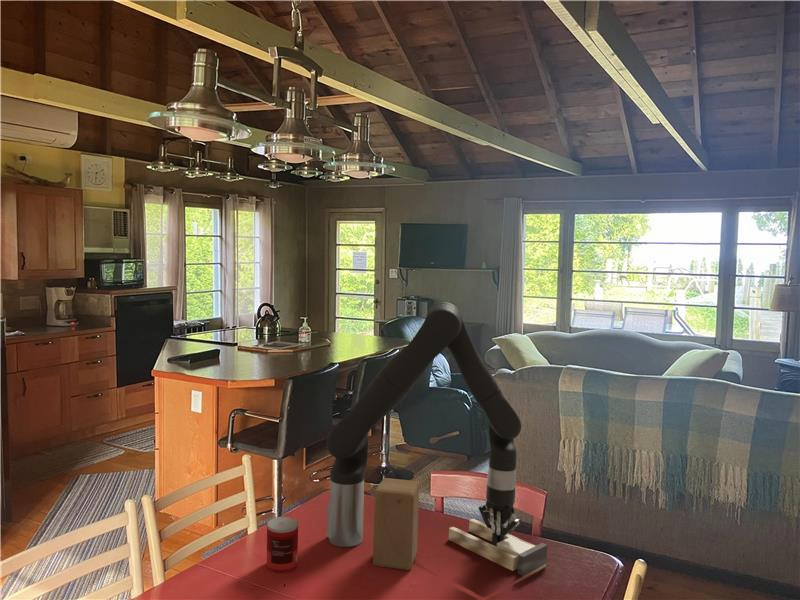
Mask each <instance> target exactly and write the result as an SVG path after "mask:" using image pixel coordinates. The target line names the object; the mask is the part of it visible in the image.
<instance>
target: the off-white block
mask: <svg viewBox="0 0 800 600" xmlns="http://www.w3.org/2000/svg"><path fill="white" fill-rule="evenodd" d="M497 547H498V548H501V549H503V550H505V551H507V552H509V553H511V554H514V555H516V556H517V569H518V554H520V553H523V552H525V551H527V550H529V549H531V548H533V547H534V546H531V545H529V544H527V543H525V542H522V541H520V540H518V539H515V538H513V537H509V538H507V539H505V540H503V541H501V542H498V543H497Z"/></svg>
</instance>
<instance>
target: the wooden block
mask: <svg viewBox="0 0 800 600" xmlns="http://www.w3.org/2000/svg"><path fill="white" fill-rule="evenodd" d="M419 502H420V483H419V482H418V481H417V480H410V479H399V478H389V477H384V478H382V480H381V481H380V483H379V484H378V486H377V487H376V489H375V492H374V508H373V509H374V511H373V540H372V541H373V543H372V544H373V545H372V546H373V547H372V563H373V565H374V566H376V567H382V568H383V567H384V568H391V569H397V570H407V571H409V570H411V569H412V566H413V564H414V561H415V559H416V555H417V553H418V536H419V535H418V534H419V533H418V531H419Z"/></svg>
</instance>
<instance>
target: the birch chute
mask: <svg viewBox="0 0 800 600" xmlns="http://www.w3.org/2000/svg"><path fill="white" fill-rule="evenodd" d="M468 532H469V533H468ZM468 532H466V531H465V530H461V529H460V528H457V527H455V526H451V527H449V528H448V541H450V542H453V543H454V544H457V545H459V546H460V547H463V548H465V550H466V549H467V550H468V551H471V552H473V553H475V554H477V555H479V556H481V557H483V558H484V559H487V560H489V561H491V562H493V563H495V564H497V565H499V566H502V567H503V568H506V569H507V570H510V571H512V572H514V571H516V570H517V574H518V575H520V579H525V578H527V577H528V576H530V575H533V574H534V573H536V572H538V571H540V570H542V569H543V568H545V567H546V566H547V559H548V556H547V554H548V544H546V543H544V542H540V543H539V544H537V545H535V544H533V543H531V542H528V541H526V540H523V539H521V538H518V537H516V536H514V535H512V534H511V533H509V534H507V535H505V536H504V540H505V539H507V538H509V537H513V538H515V539H518V540H520V541H522V542H525V543H527V544H529V545H531V546H534V547H533V548H531V549H529V550H527V551H525V552H523V553H520V554H518V568H517V556H516V555H514V554H511V553H509V552H507V551H505V550H503V549H501V548H498V547H496V546H494V545H493V544H492V531H491V529H490V528H487V526H486V524H485V522H482V521H479V520H477V519H475V518H470V519H469V520H468ZM470 533H472V534H470ZM473 534H474V535H476V536H474V535H473ZM477 536H478V537H477ZM479 537H481V538H483V539H481V538H479ZM484 539H485V540H487V541H489V542H487V541H485V540H484ZM490 542H491V543H490Z"/></svg>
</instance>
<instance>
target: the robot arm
mask: <svg viewBox="0 0 800 600" xmlns="http://www.w3.org/2000/svg"><path fill="white" fill-rule="evenodd" d="M446 348H448V350H449V352H450V353H451V355H452V357H453V359H454V361H455V363H456V366H457V367H458V370H459V372H460V374H461V377H462V379H463V381H464V383H465V385H466V387H467V389H468V391H469V392H470V393H471V395H472V397H473V399H474V400H475V402H476V403H477V405H478V406H479V407H480V408H481V409H482V411H483V412H484V414H485V415H486V417H487V419H488V439H489V459H488V470H487V475H486V476H487V477H486V491H485V492H486V494H485V495H486V496H485V498H486V501H485V504H483V505H481V506H478V510H479V514H480V515H481V518H482V520H483V523H485V524H486V526H487V528H490V529H491V531H492V542H491V544H492V545H494V546H496V547H497V543H498V542H501V541H503V540H504V536H505V535H507V534H511V533H512V532H513V531H514V530H516V528H517V527H518V526H519V525H520V524H521V523H522V520H521V518H517V516H516V515H515V508H514V505H515V501H516V489H517V486H516V485H517V449H516V446H515V444H514V439H515V438H517V437H518V436H519V435H520V433H521V430H522V422H521V419H520V416H519V415H518V414H517V412H516V411H515V409H514V408H513V407H512V405H511V404H510V403H509V401H508V400H507V399H506V397H505V396H504V394H503V392H502V390H501V387H500V386H499V385H498V383H497V381H496V380H495V378H494V377H493V375H492V373H491V371H490V370H489V368H488V367H487V365H486V364H485V362H484V360H483V359H482V356H480V354H479V352H478V351H477V349H476V347H475V345H474V343H473V341H472V339H471V337H470V335H469V332H468V331H467V328H466V326H465V322H464V321H463V318H462V315H461V312H460V310H459V309H458V307H456V305H454V304H452V303H450V302H448V301H439V302H436V303H434V304H433V305H431V306H430V308H429V309H428V311H427V313H426V315H425V319H424V321H423V323H422V325H421V326H420V327H419V330H418V331H417V332H416V333H415V335H414V337H413V338H412V339H411V341H410V342H409V343H408V344H407V345H406V346H405V347H404V348H403V349H401V351H399V352H398V353H396V355H394V356H393V357H392V358H390V360H389V361H388V362H386V364H385V365H384V366H383V367H382V368H381V369H380V371H379V372H378V373H377V374H376V376H375V377H374V378H373V380H372V381H371V382H370V384H369V385H368V386H367V387H366V388H365V391H364V392H363V393H362V394H361V396H360V398H359V399H358V400H357V401H356V403H355V404H354V406H353V407H352V408H351V410H349V411H348V413H347V414H346V415H344V417H343V418H341V420H340V421H338V423H336V424H335V425H334V426H333V427H332V428H331V429H330V431H329V432H328V433H327V437H326V441H325V442H326V448H327V451H328V453H329V454H330V456H332V457H333V458H335V459H334V463H333V465H332V466H331V469H330V475H329V477H330V479H329V502H328V503H327V524H326V525H327V528H326V529H327V532H326V533H327V535H326V536H327V538H328V540H329V543H330V544H331V545H333V546H336V547H341V548H350V547H355V546H358V545H360V544H361V543H362V542H363V540H364V539H363V535H364V534H363V533H364V528H363V527H364V498H365V493H364V492H365V472H366V469H367V466H368V455H369V454H368V453H369V432H370V431H371V430H372V428H373V427H374V426H375V425H377V423H379V422H380V421H381V420H382V419H383V418H384V417H386V416H387V415H388V414H389V413H390V412H391V411H393V410H394V409H395V408H396V407H397V406H398V405H399V404H400V403H401V402H402V400H403V399H404V398H405V397H406V396H407V394H409V392H410V391H411V390H412V389H413V387H414V386H415V385H416V383H417V382H418V381H419V380H420V378H421V377H422V376H423V375H424V373H425V371H426V370H427V369H428V367H429V366H430V364H431V363H432V361H434V360H435V358H437V357H438V356H439V355H440V354H441V352H443V351H444V350H445V349H446ZM508 523H509V524H508Z"/></svg>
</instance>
